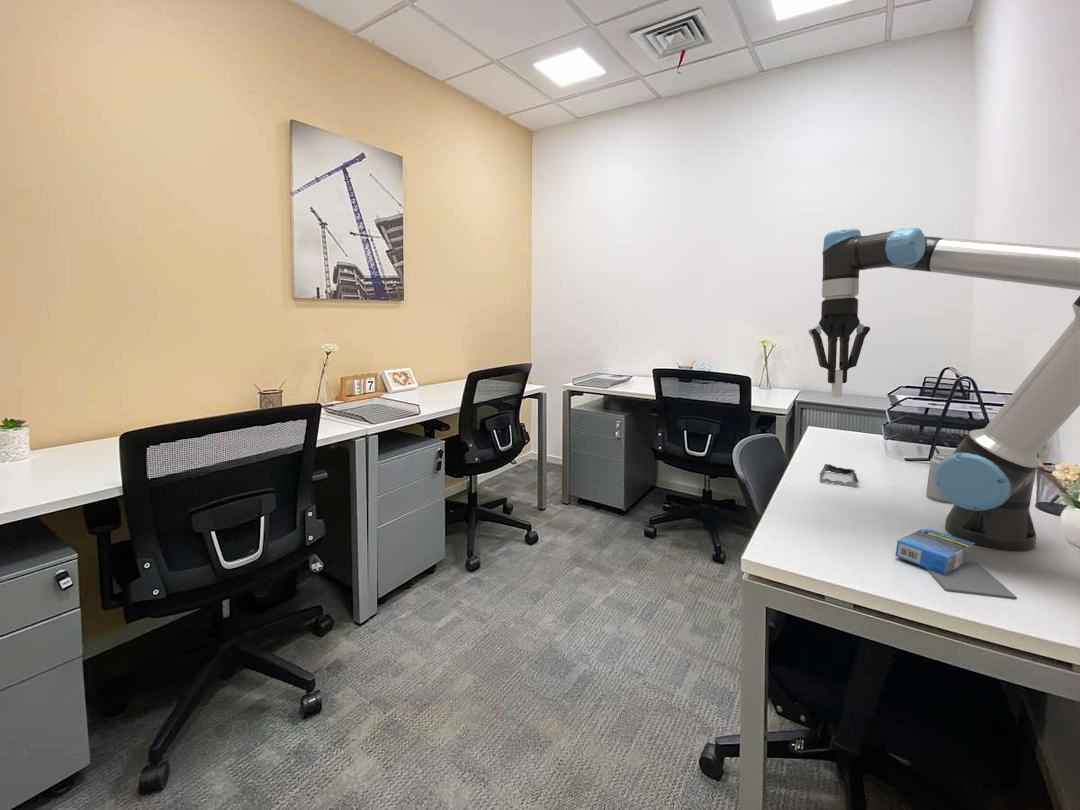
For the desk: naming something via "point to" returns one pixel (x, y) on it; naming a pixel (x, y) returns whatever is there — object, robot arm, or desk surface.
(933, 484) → the can
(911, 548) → the label tape box
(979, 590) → the felt mat
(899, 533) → the desk surface
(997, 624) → the desk surface
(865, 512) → the desk surface
